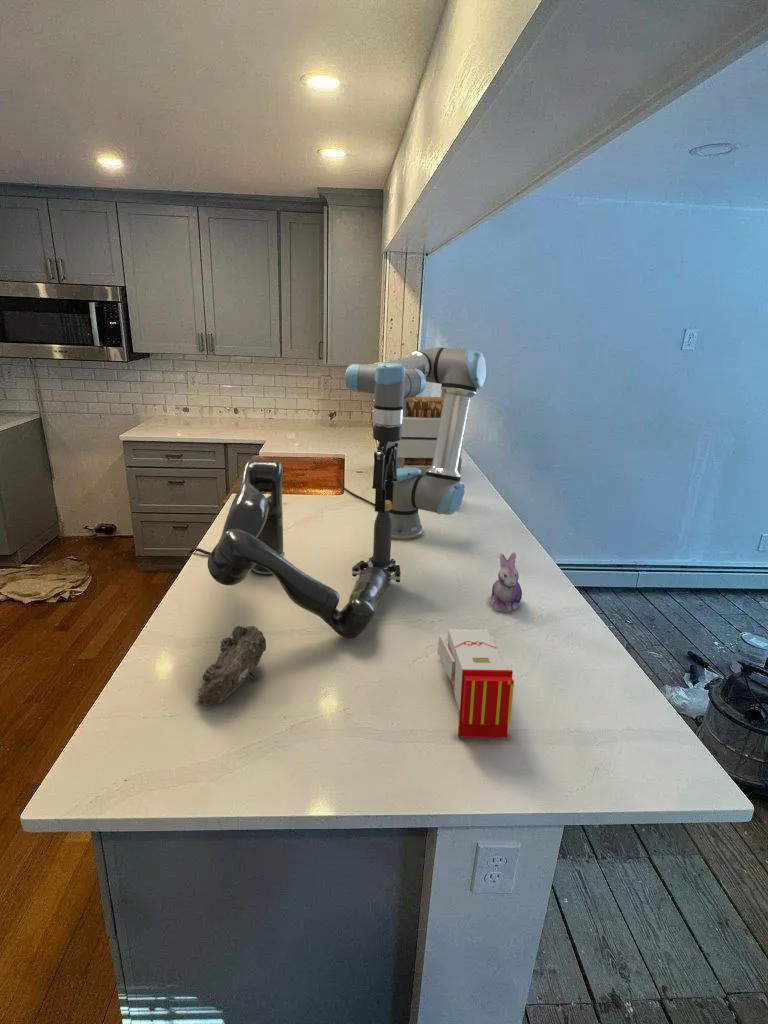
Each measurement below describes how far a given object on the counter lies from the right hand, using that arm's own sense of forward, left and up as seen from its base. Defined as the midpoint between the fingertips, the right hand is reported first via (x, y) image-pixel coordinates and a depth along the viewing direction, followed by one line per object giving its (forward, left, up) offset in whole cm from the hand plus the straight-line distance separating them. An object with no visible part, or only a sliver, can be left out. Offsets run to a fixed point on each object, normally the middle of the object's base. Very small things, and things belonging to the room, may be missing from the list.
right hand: (383, 507), depth 156 cm
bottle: (0, 0, -23) cm, 23 cm away
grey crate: (-78, +91, -23) cm, 122 cm away
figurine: (+30, +19, -23) cm, 43 cm away
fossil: (+15, -53, -23) cm, 60 cm away
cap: (0, 0, +1) cm, 1 cm away
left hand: (-2, +2, -17) cm, 17 cm away
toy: (+49, -17, -23) cm, 57 cm away
